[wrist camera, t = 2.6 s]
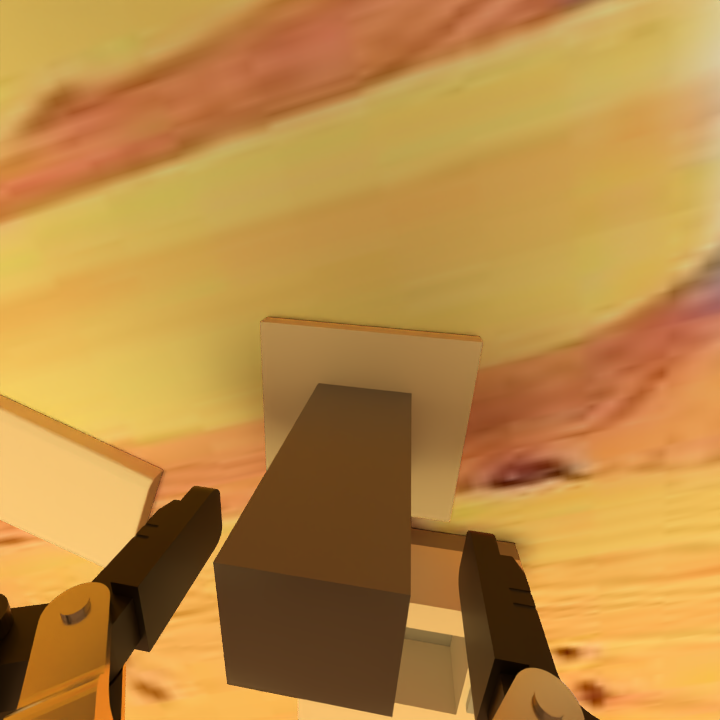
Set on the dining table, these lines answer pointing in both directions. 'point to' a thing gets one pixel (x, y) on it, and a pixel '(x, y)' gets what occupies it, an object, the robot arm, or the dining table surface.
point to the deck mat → (382, 372)
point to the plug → (325, 557)
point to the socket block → (427, 640)
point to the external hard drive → (71, 485)
